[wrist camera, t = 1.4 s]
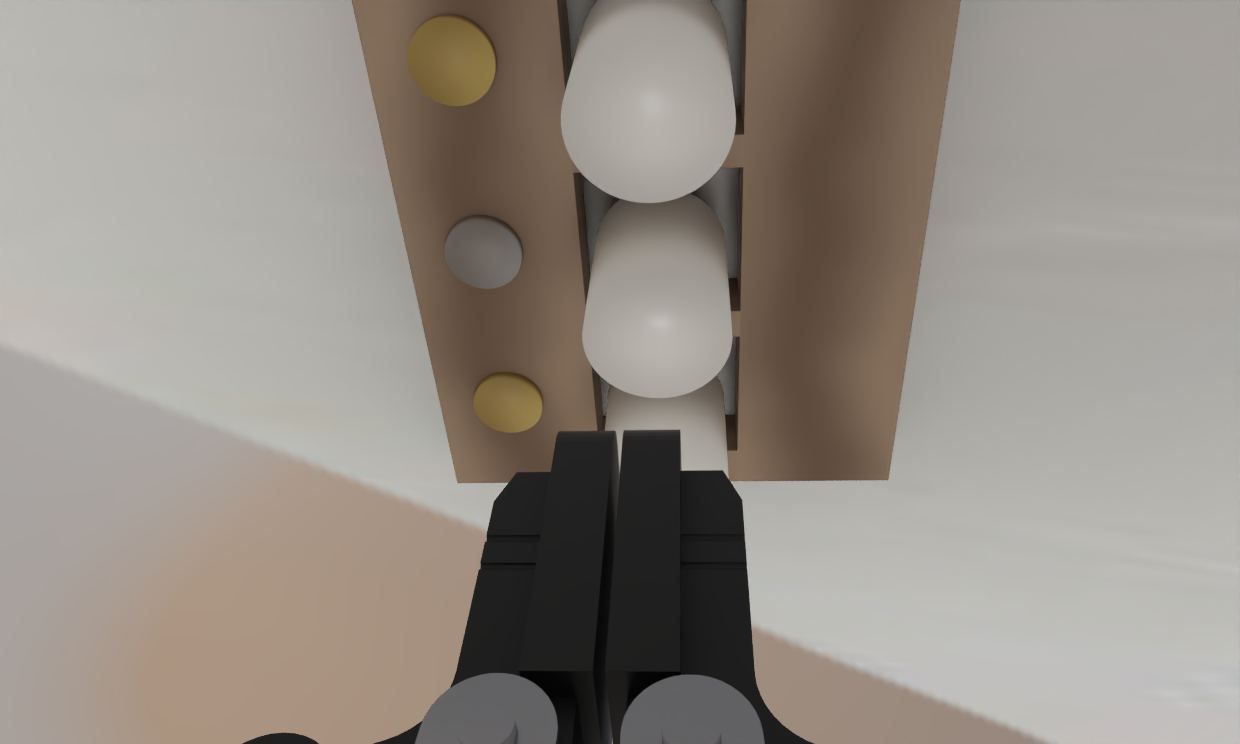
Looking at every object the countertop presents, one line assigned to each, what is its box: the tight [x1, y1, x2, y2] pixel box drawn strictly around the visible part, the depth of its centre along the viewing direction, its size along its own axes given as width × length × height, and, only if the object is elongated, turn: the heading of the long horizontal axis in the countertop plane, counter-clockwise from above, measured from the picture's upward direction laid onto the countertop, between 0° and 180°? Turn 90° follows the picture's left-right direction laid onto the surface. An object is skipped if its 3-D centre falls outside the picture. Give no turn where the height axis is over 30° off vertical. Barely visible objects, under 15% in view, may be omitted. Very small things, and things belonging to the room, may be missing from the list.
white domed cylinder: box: [561, 0, 736, 203], centre depth 24 cm, size 4×4×5 cm
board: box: [352, 0, 961, 483], centre depth 30 cm, size 16×20×2 cm
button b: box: [582, 193, 733, 398], centre depth 27 cm, size 4×4×5 cm
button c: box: [605, 375, 729, 479], centre depth 31 cm, size 4×4×5 cm
